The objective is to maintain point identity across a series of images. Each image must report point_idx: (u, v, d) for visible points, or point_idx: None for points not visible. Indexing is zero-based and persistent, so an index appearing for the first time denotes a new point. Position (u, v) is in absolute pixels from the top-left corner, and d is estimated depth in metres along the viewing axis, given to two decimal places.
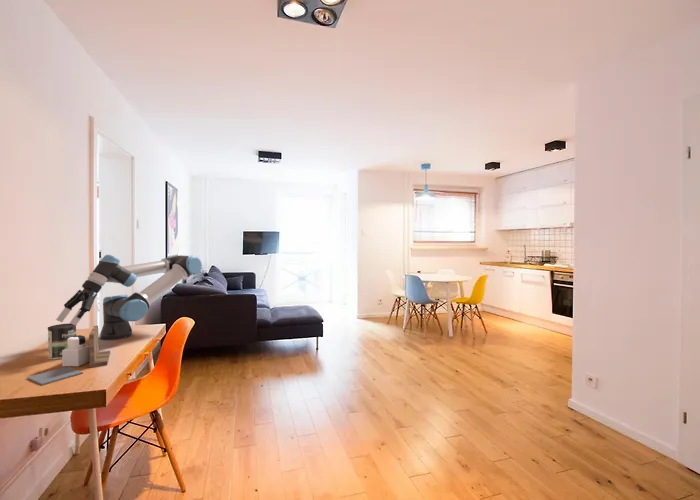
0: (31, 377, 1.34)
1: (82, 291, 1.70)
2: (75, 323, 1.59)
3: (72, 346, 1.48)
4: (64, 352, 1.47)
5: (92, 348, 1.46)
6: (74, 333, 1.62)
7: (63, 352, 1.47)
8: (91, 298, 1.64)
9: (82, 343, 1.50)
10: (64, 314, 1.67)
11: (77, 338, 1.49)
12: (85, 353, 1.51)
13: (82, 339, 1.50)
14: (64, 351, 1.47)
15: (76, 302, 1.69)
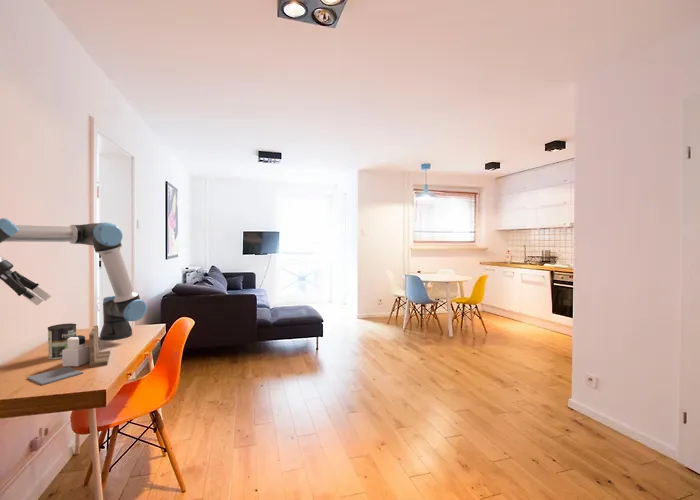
0: (31, 377, 1.34)
1: None
2: (40, 300, 1.39)
3: (72, 346, 1.48)
4: (64, 352, 1.47)
5: (92, 348, 1.46)
6: (74, 333, 1.62)
7: (63, 352, 1.47)
8: (8, 281, 1.34)
9: (82, 343, 1.50)
10: (40, 293, 1.49)
11: (77, 338, 1.49)
12: (85, 353, 1.51)
13: (82, 339, 1.50)
14: (64, 351, 1.47)
15: (25, 282, 1.45)
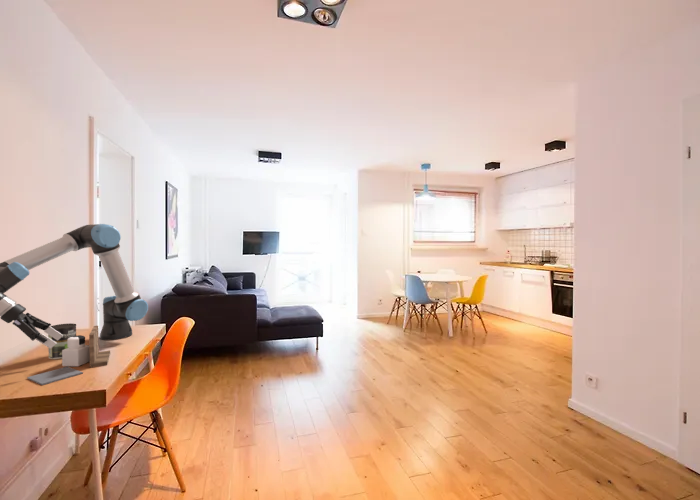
0: (31, 377, 1.34)
1: None
2: (53, 343, 1.41)
3: (72, 346, 1.48)
4: (64, 352, 1.47)
5: (92, 348, 1.46)
6: (74, 333, 1.62)
7: (63, 352, 1.47)
8: (21, 326, 1.35)
9: (82, 343, 1.50)
10: (53, 333, 1.51)
11: (77, 338, 1.49)
12: (85, 353, 1.51)
13: (82, 339, 1.50)
14: (64, 351, 1.47)
15: (37, 324, 1.47)
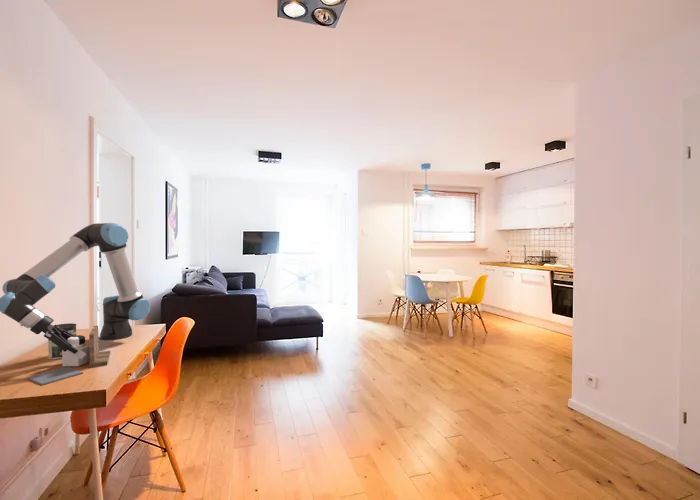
0: (31, 377, 1.34)
1: None
2: (83, 354, 1.48)
3: None
4: (64, 352, 1.47)
5: (92, 348, 1.46)
6: (74, 333, 1.62)
7: (63, 352, 1.47)
8: (53, 339, 1.41)
9: (82, 343, 1.50)
10: None
11: (77, 338, 1.49)
12: None
13: (82, 339, 1.50)
14: None
15: (64, 336, 1.51)
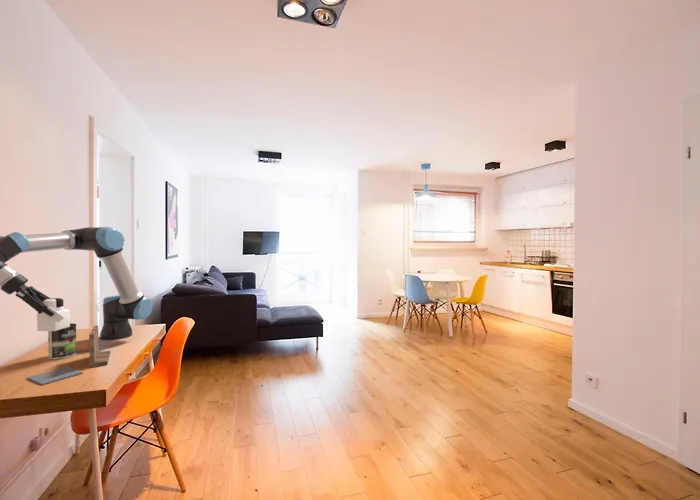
0: (31, 377, 1.34)
1: None
2: (61, 318, 1.33)
3: None
4: (39, 315, 1.33)
5: (92, 348, 1.46)
6: (74, 333, 1.62)
7: (38, 315, 1.33)
8: (26, 299, 1.27)
9: (60, 306, 1.36)
10: None
11: (54, 300, 1.34)
12: None
13: (60, 302, 1.36)
14: (39, 314, 1.33)
15: (41, 298, 1.37)
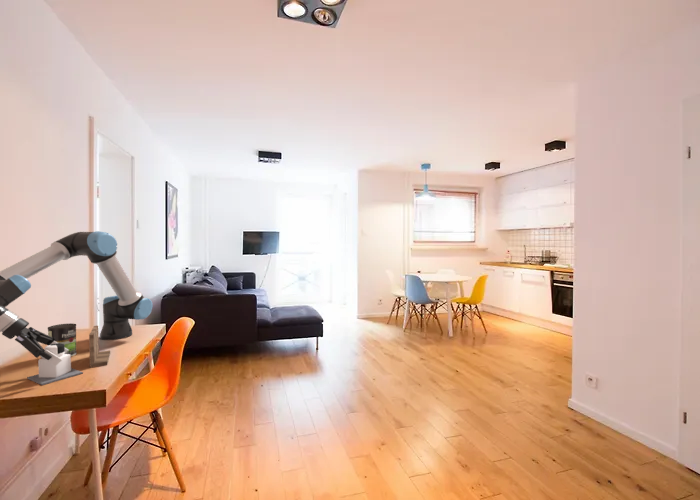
0: (31, 377, 1.34)
1: None
2: (58, 360, 1.32)
3: None
4: (41, 362, 1.33)
5: (92, 348, 1.46)
6: (74, 333, 1.62)
7: (39, 362, 1.33)
8: (24, 343, 1.26)
9: (61, 352, 1.36)
10: None
11: (55, 346, 1.35)
12: (64, 363, 1.37)
13: (61, 347, 1.36)
14: (41, 361, 1.33)
15: (41, 339, 1.38)
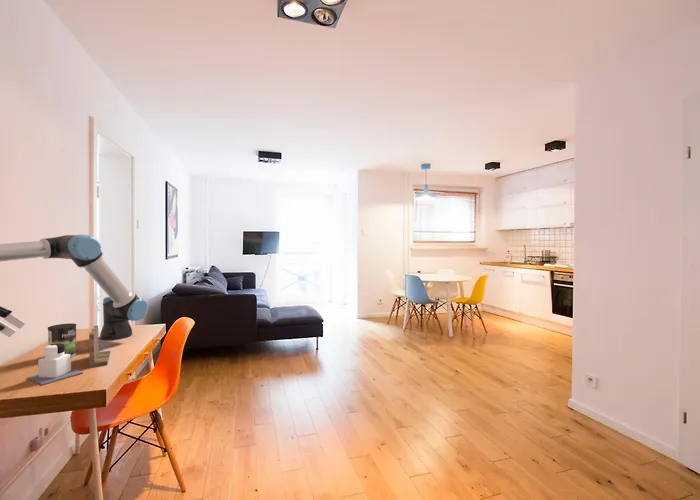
0: (31, 377, 1.34)
1: None
2: (12, 331, 1.28)
3: (50, 355, 1.34)
4: (41, 362, 1.33)
5: (92, 348, 1.46)
6: (74, 333, 1.62)
7: (39, 362, 1.33)
8: None
9: (61, 352, 1.36)
10: (14, 320, 1.38)
11: (55, 346, 1.35)
12: (64, 363, 1.37)
13: (61, 347, 1.36)
14: (41, 361, 1.33)
15: None
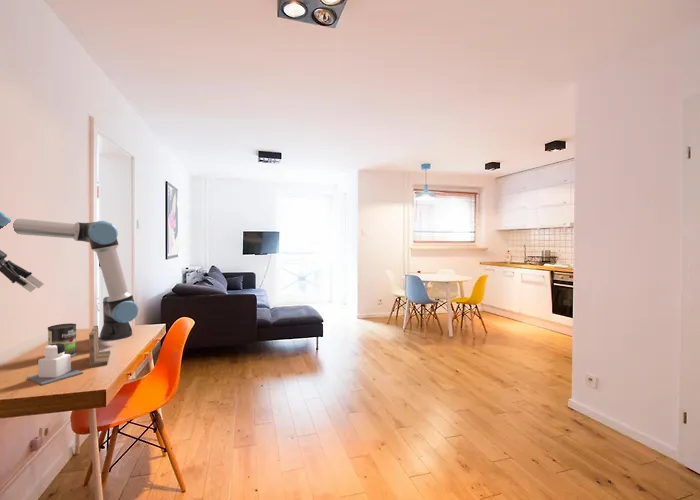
0: (31, 377, 1.34)
1: None
2: (33, 287, 1.48)
3: (50, 355, 1.34)
4: (41, 362, 1.33)
5: (92, 348, 1.46)
6: (74, 333, 1.62)
7: (39, 362, 1.33)
8: (2, 269, 1.43)
9: (61, 352, 1.36)
10: (34, 281, 1.58)
11: (55, 346, 1.35)
12: (64, 363, 1.37)
13: (61, 347, 1.36)
14: (41, 361, 1.33)
15: (18, 271, 1.54)
